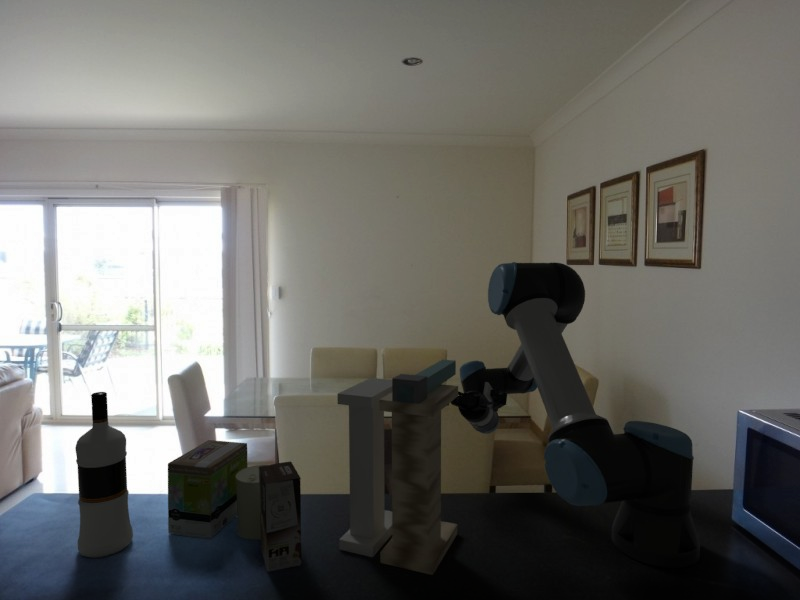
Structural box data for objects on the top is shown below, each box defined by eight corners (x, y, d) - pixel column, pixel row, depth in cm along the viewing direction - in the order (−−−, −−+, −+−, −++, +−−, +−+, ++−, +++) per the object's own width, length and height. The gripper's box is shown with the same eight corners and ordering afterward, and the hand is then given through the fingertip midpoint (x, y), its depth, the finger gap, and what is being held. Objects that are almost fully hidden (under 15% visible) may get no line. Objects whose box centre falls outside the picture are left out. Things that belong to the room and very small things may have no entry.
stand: (401, 522, 110) (401, 380, 108) (372, 557, 97) (371, 397, 95) (371, 516, 113) (370, 377, 111) (339, 549, 100) (337, 393, 98)
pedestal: (457, 533, 106) (458, 385, 103) (432, 575, 92) (432, 405, 90) (410, 524, 109) (410, 381, 107) (380, 562, 96) (379, 399, 93)
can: (227, 536, 105) (226, 478, 104) (251, 515, 114) (250, 460, 113) (270, 542, 103) (268, 482, 102) (290, 519, 112) (289, 464, 111)
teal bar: (460, 374, 113) (460, 356, 113) (419, 403, 90) (419, 380, 90) (438, 372, 115) (438, 354, 115) (392, 401, 92) (392, 378, 92)
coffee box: (303, 565, 95) (301, 478, 94) (266, 573, 92) (264, 483, 91) (293, 540, 103) (292, 460, 102) (259, 547, 101) (257, 464, 100)
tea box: (212, 540, 104) (210, 467, 102) (167, 535, 106) (164, 463, 104) (249, 505, 118) (248, 441, 117) (208, 501, 120) (206, 438, 119)
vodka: (73, 564, 95) (65, 401, 93) (82, 539, 104) (75, 389, 102) (131, 553, 99) (124, 395, 97) (135, 530, 107) (128, 384, 105)
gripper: (523, 429, 130) (510, 407, 112) (427, 417, 140) (401, 395, 122) (526, 399, 133) (513, 374, 115) (432, 389, 143) (407, 364, 125)
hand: (455, 385), depth 119 cm, fingers open, 13 cm apart
